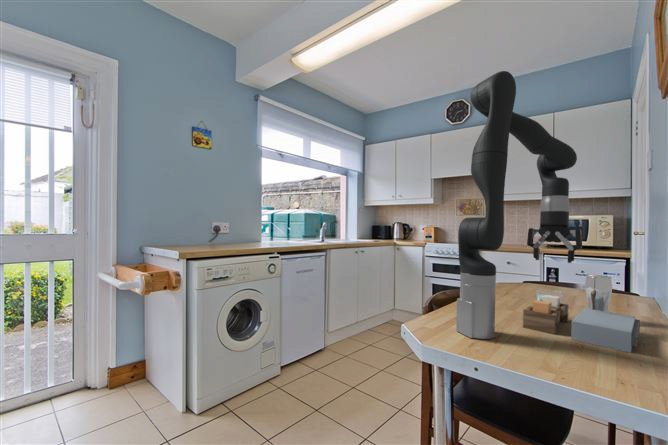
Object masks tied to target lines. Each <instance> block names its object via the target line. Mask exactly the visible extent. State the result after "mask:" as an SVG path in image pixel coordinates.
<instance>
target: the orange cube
mask: <svg viewBox="0 0 668 445" xmlns="http://www.w3.org/2000/svg"><path fill="white" fill-rule="evenodd" d="M532 307H533V311H536V312H542V313H547V314H551V302H545V301H540V300H539V299H535V300H534V301H532Z"/></svg>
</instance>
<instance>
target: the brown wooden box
mask: <svg viewBox="0 0 668 445" xmlns="http://www.w3.org/2000/svg"><path fill="white" fill-rule="evenodd" d="M539 301H543V299H540V300H539ZM522 312H523V315H522V316H523V318H522V328H523V329H527V330H531V331H535V332H540V333H546V334H549V335H556V334H557V333H556V332H557V328H558V326H559V325H560V322H564V323H568V322H569V304H567V303H561V302H560V309H559V307H555V306H551V314H547V313H542V312H536V311H533V305H532V306H531V305H529V306H527V307H526V308H523V311H522Z"/></svg>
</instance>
